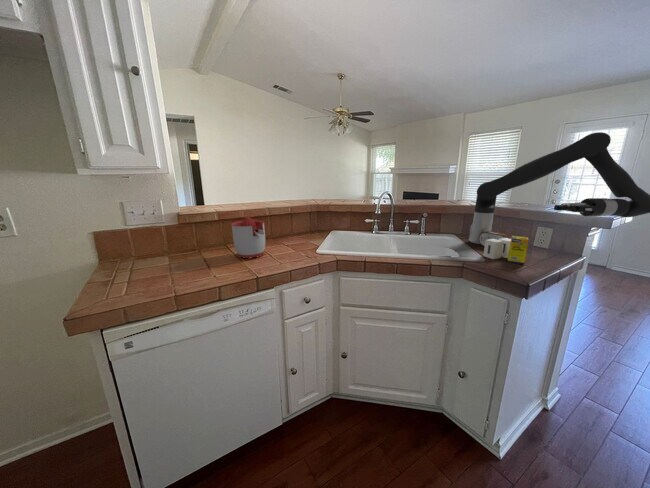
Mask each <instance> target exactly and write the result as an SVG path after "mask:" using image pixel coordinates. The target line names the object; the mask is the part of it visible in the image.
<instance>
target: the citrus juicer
mask: <svg viewBox="0 0 650 488" xmlns="http://www.w3.org/2000/svg"><path fill="white" fill-rule="evenodd" d="M230 225H231V230H232V238H233V239H232V240H233V244H234V246H233V247H234V248H235V249H234V250H235V251H236V254H237V255H238V257H239V256H240V257H244V258H250V257H257V256H260V255H262V254H263V255H264V252H265V250H266V249H265V247H266V231H265V230H266V229H265V221H264V220H260V219H253V218H251V217H250V216H249V215H248V216H246V217H245V218H244V219H243V220H238V221H234V222H231V223H230ZM263 255H262V256H263ZM240 257H239V258H240ZM260 257H261V256H260ZM257 258H258V257H257Z"/></svg>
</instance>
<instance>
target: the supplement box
mask: <svg viewBox="0 0 650 488" xmlns="http://www.w3.org/2000/svg"><path fill="white" fill-rule="evenodd" d="M510 239H511V242H510V248H509V253H508V258H506V259H507V263H511V264H519V265H524V264H525V262H526V261H525V260H526V255H527V250H528V246H529V237H526V236H517V235H511V236H510Z"/></svg>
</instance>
